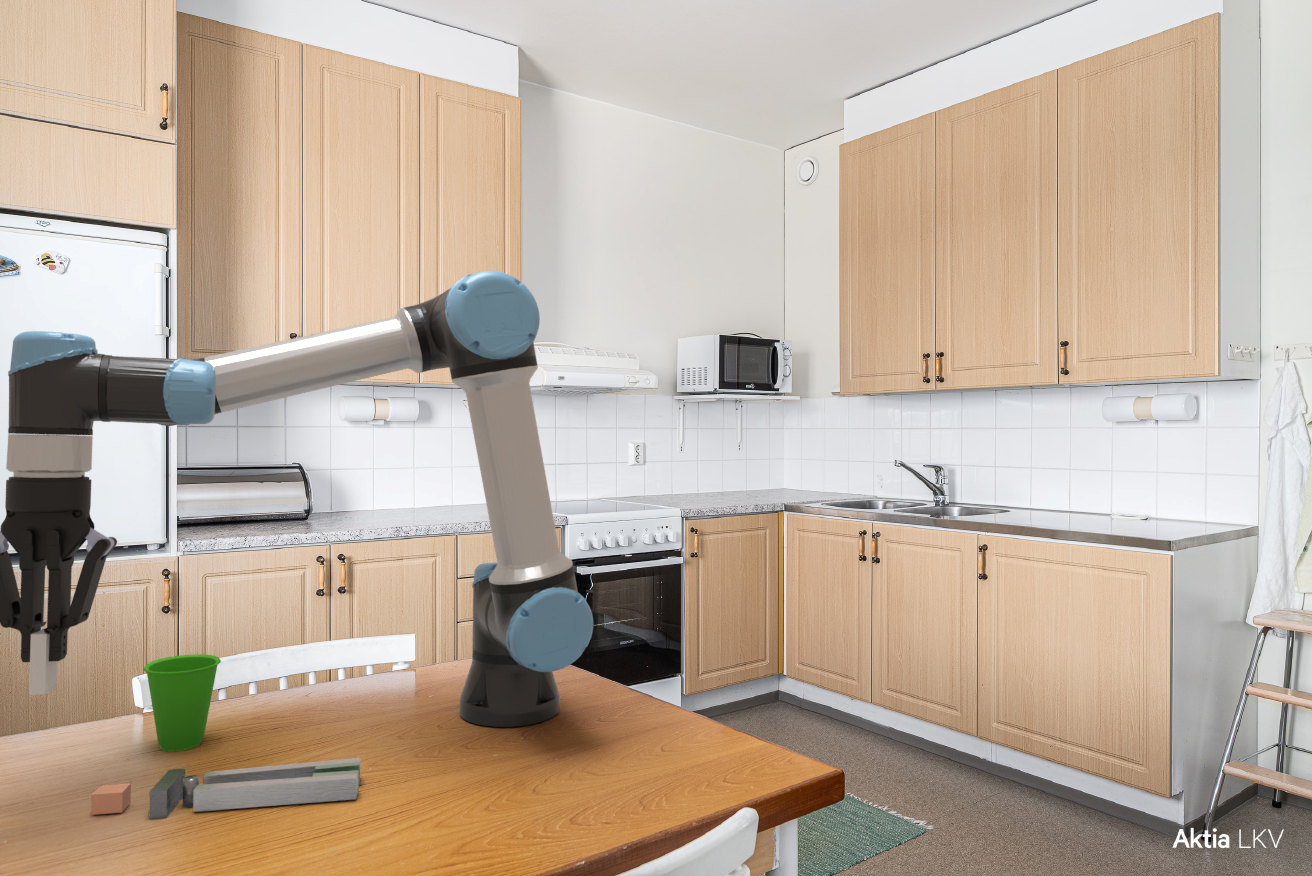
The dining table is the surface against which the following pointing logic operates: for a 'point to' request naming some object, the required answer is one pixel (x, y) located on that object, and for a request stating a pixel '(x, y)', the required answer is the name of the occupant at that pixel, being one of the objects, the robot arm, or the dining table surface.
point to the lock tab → (110, 799)
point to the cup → (181, 698)
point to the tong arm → (282, 771)
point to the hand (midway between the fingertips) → (43, 690)
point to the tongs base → (248, 792)
